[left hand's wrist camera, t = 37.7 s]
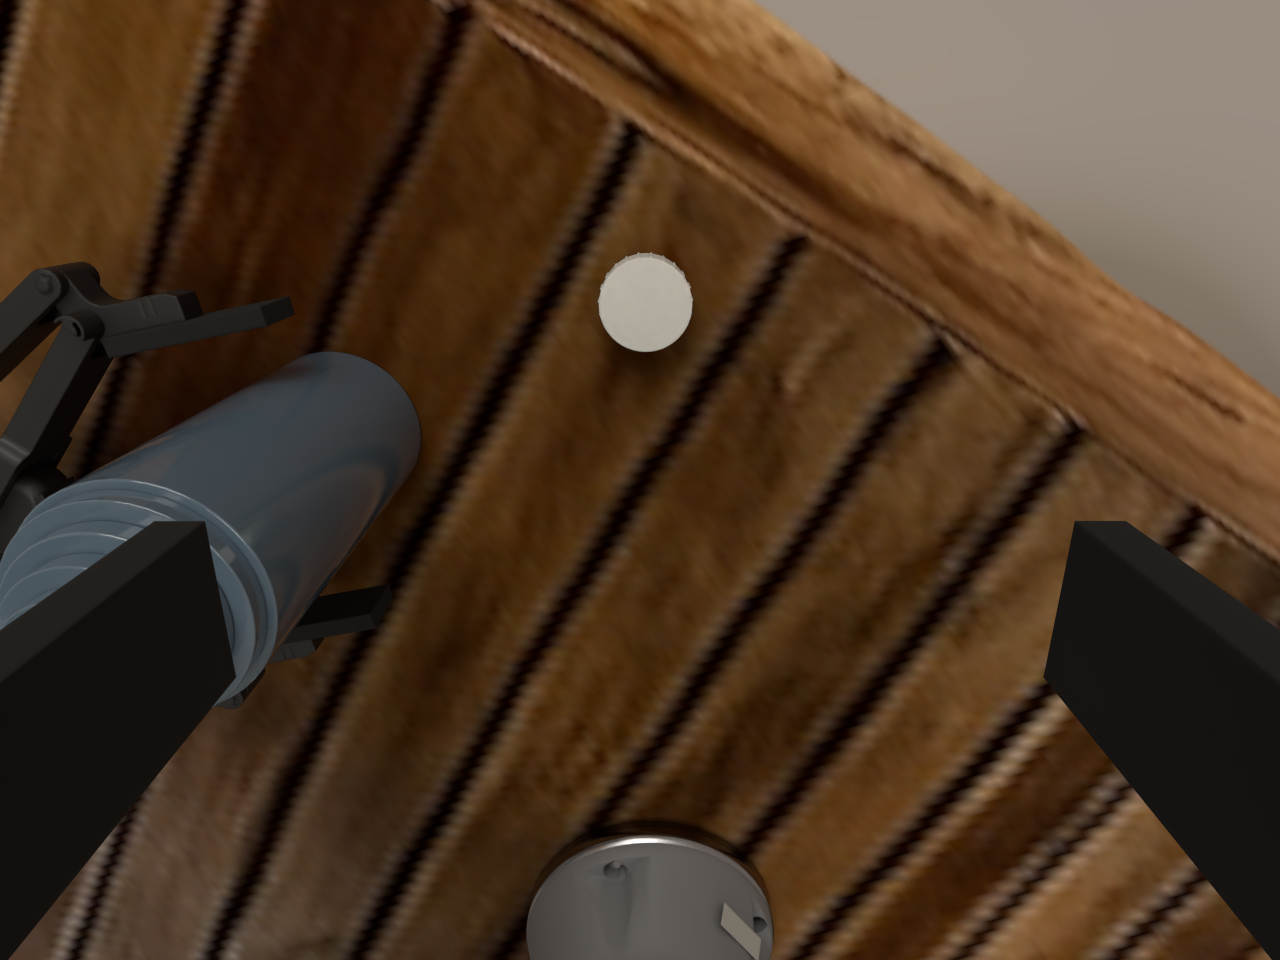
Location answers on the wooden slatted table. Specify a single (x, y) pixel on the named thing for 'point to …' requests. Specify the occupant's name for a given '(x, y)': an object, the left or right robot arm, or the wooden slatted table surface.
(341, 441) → the bottle
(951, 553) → the wooden slatted table surface
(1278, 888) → the left robot arm
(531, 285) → the wooden slatted table surface
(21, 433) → the right robot arm
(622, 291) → the cap
